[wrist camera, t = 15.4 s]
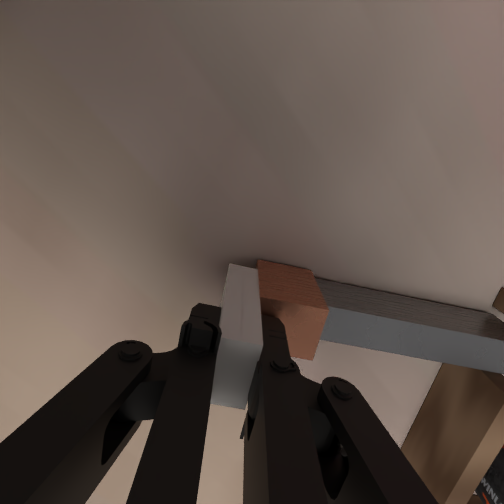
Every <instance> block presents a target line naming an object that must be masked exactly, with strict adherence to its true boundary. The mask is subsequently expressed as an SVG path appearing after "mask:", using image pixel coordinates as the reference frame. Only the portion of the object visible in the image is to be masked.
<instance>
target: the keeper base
mask: <svg viewBox="0 0 504 504" xmlns="http://www.w3.org/2000/svg"><path fill="white" fill-rule="evenodd" d="M493 306H494V307H495V308H496V309H498V310H499V311H501V312H502V313H503V314H504V288H501V290H500V292H499V294H498V296H497V298H496V300H495V302H494V304H493ZM503 445H504V376H503V375H502V374H500V373H495V372H490V371H485V370H479V369H474V368H469V367H463V366H458V365H453V364H447V363H443V364H442V366H441V369H440V371H439V373H438V375H437V377H436V379H435V381H434V383H433V385H432V387H431V389H430V391H429V393H428V395H427V397H426V399H425V401H424V403H423V405H422V407H421V409H420V411H419V413H418V415H417V417H416V419H415V421H414V423H413V425H412V427H411V429H410V431H409V433H408V436H407V438H406V440H405V442H404V444H403V446H402V448H401V451H402V452H403V454H404V455H405V457H406V458H407V460H408V461H409V462H410V464H411V465H412V467H413V468H414V469H415V471H416V472H417V474H418V475H419V477H420V478H421V479H422V481H423V482H424V484H425V485H426V486H427V488H428V489H429V491H430V492H431V494H432V495H433V496H434V498H435V499H436V501H437V502H438V503H439V504H483V502H482V501H481V499H480V498H479V496H478V495H472V494H473V493H474V491H475V490H476V488H477V486H478V485H479V483H480V482H481V480H482V478H483V477H484V475H485V474H486V472H487V470H488V469H489V467H490V465H491V464H492V462H493V461H494V459H495V457H496V456H497V454H498V453H499V451H500V449H501V448H502V446H503Z"/></svg>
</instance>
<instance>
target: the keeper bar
mask: <svg viewBox="0 0 504 504" xmlns="http://www.w3.org/2000/svg"><path fill="white" fill-rule="evenodd" d="M255 269H258V281H259V296H260V306H261V315H266V316H271V317H276V318H279V319H280V320H281V322H282V323H283V324H284V325H285V331H286V336H287V341H288V346H289V352H290V357H296V358H301V359H307V360H313V357H314V354H315V351H316V348H317V345H318V342H319V339H320V340H325V341H331V342H336V343H341V344H347V345H352V346H357V347H362V348H368V349H373V350H378V351H384V352H389V353H394V354H400V355H405V356H410V357H416V358H421V359H426V360H431V361H437V362H442V363H447V364H453V365H458V366H463V367H469V368H474V369H479V370H485V371H490V372H495V373H500V374H504V322H503V321H501V320H500V319H498V318H497V317H496V316H494V315H493V314H489V313H484V312H479V311H474V310H469V309H465V308H460V307H455V306H450V305H445V304H440V303H435V302H430V301H425V300H420V299H415V298H410V297H406V296H401V295H396V294H391V293H386V292H381V291H376V290H371V289H366V288H361V287H356V286H351V285H347V284H342V283H337V282H332V281H327V280H322V279H317V278H314V276H313V273H312V271H311V270H307V269H302V268H297V267H293V266H288V265H283V264H278V263H273V262H268V261H263V260H257V264H256V268H255Z"/></svg>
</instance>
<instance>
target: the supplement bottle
mask: <svg viewBox="0 0 504 504" xmlns="http://www.w3.org/2000/svg"><path fill="white" fill-rule="evenodd" d="M475 491H476V493H477V495H478V496H479V498H480V499H481V501H482V502H483V504H504V445H503V446H502V448H501V449H500V451H499V453H498V454H497V456H496V457H495V459H494V461H493V462H492V464H491V465H490V467H489V469H488V470H487V472H486V474H485V475H484V477H483V478H482V480H481V482H480V483H479V485H478V486H477V488H476V490H475Z"/></svg>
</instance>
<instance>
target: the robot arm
mask: <svg viewBox="0 0 504 504" xmlns="http://www.w3.org/2000/svg"><path fill="white" fill-rule="evenodd" d="M247 401H248V411H247V414H246V418H245V421H244V425H243V428H242V432H241V435H240V439H243V437H244V480H243V504H439V503H438V502H437V501H436V499H435V498H434V496H433V495H432V494H431V492H430V491H429V489H428V488H427V486H426V485H425V484H424V482H423V481H422V479H421V478H420V477H419V475H418V474H417V472H416V471H415V469H414V468H413V467H412V465H411V464H410V462H409V461H408V460H407V458H406V457H405V455H404V454H403V452H402V451H401V450H400V448H399V447H398V445H397V444H396V443H395V441H394V440H393V438H392V437H391V436H390V434H389V433H388V431H387V430H386V428H385V427H384V426H383V424H382V423H381V421H380V420H379V419H378V417H377V416H376V414H375V413H374V411H373V410H372V409H371V407H370V406H369V404H368V403H367V402H366V400H365V399H364V397H363V396H362V394H361V393H360V392H359V390H358V389H357V388H356V387H355V386H354V385H352V384H351V383H350V382H348V381H346V380H344V379H341V378H338V377H327V378H325V379H324V380H323V381H322V384H319V383H316V382H314V381H312V380H309V379H307V378H305V377H304V376H302V375H301V374H300V370H299V367H298V365H297V364H296V363H295V362H294V361H293V360H292V359H291V357H290V352H289V346H288V341H287V336H286V331H285V325H284V324H283V323H282V322H281V320H280V319H279V318H276V317H271V316H266V315H261V306H260V296H259V281H258V269H254V268H249V267H244V266H240V265H235V264H229V268H228V272H227V277H226V281H225V286H224V290H223V295H222V299H221V304H220V307H217V306H212V305H207V304H202V303H198V304H197V305H196V306H194V307H193V308H192V311H191V314H190V317H189V320H187V321H185V322H184V323H183V325H182V327H181V332H180V338H179V343H178V347H177V348H176V349H174V350H172V351H169V352H164V353H152V349H151V348H150V347H149V346H148V345H147V344H145V343H143V342H140V341H135V340H125V341H122V342H118V343H116V344H114V345H113V346H111V347H110V348H109V349H108V350H107V351H105V352H104V353H103V354H102V355H101V356H100V357H99V358H97V359H96V360H95V361H94V362H93V363H92V364H91V365H89V366H88V367H87V368H86V369H85V370H84V371H83V372H81V373H80V374H79V375H78V376H77V377H76V378H74V379H73V380H72V381H71V382H70V383H69V384H68V385H66V386H65V387H64V388H63V389H62V390H61V391H60V392H58V393H57V394H56V395H55V396H54V397H53V398H52V399H50V400H49V401H48V402H47V403H46V404H45V405H44V406H42V407H41V408H40V409H39V410H38V411H37V412H36V413H34V414H33V415H32V416H31V417H30V418H29V419H27V420H26V421H25V422H24V423H23V424H22V425H21V426H19V427H18V428H17V429H16V430H15V431H14V432H13V433H11V434H10V435H9V436H8V437H7V438H6V439H5V440H3V441H2V442H1V443H0V504H85V503H86V501H87V500H88V499H89V497H90V496H91V494H92V493H93V491H94V490H95V489H96V487H97V486H98V484H99V483H100V482H101V480H102V479H103V477H104V476H105V474H106V473H107V472H108V470H109V469H110V467H111V466H112V465H113V463H114V462H115V460H116V459H117V457H118V456H119V455H120V453H121V452H122V450H123V449H124V447H125V446H126V445H127V443H128V442H129V440H130V439H131V438H132V436H133V435H134V433H135V432H136V430H137V429H138V428H139V426H140V424H141V422H142V420H150V419H154V420H153V423H152V426H151V429H150V432H149V435H148V438H147V441H146V444H145V447H144V450H143V454H142V457H141V460H140V463H139V466H138V469H137V472H136V475H135V478H134V481H133V484H132V487H131V490H130V493H129V496H128V499H127V502H126V504H196V501H197V494H198V487H199V480H200V473H201V466H202V459H203V451H204V444H205V437H206V430H207V423H208V416H209V409H210V404H216V405H221V406H227V407H233V408H238V409H244V410H245V408H246V404H247Z"/></svg>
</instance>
